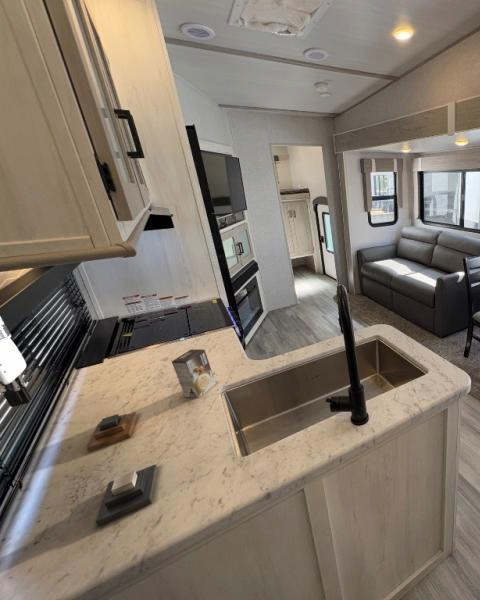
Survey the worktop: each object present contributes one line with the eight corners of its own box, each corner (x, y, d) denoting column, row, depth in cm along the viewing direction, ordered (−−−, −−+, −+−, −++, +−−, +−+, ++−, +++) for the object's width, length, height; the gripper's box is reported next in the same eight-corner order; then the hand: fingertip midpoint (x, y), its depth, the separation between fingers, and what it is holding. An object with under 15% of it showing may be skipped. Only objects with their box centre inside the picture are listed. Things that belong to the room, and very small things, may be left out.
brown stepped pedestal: (89, 453, 92) (83, 443, 91) (100, 429, 102) (95, 419, 101) (131, 438, 97) (126, 428, 96) (137, 416, 107) (133, 407, 105)
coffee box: (202, 383, 124) (191, 348, 118) (216, 384, 123) (205, 348, 117) (184, 398, 115) (170, 361, 110) (199, 399, 114) (186, 361, 109)
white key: (114, 496, 74) (111, 490, 73) (118, 484, 77) (114, 478, 77) (135, 488, 76) (132, 482, 75) (137, 476, 79) (135, 470, 78)
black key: (101, 431, 96) (98, 426, 95) (104, 423, 99) (102, 418, 98) (117, 426, 98) (115, 420, 97) (120, 418, 101) (118, 413, 100)
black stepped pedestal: (99, 528, 71) (92, 516, 69) (111, 488, 80) (105, 477, 79) (152, 504, 75) (147, 493, 74) (158, 469, 85) (153, 459, 84)
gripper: (-23, 330, 74) (15, 393, 80) (-67, 355, 62) (-19, 428, 68) (22, 322, 77) (55, 383, 84) (-12, 344, 65) (29, 414, 71)
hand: (22, 403), depth 76 cm, fingers closed
